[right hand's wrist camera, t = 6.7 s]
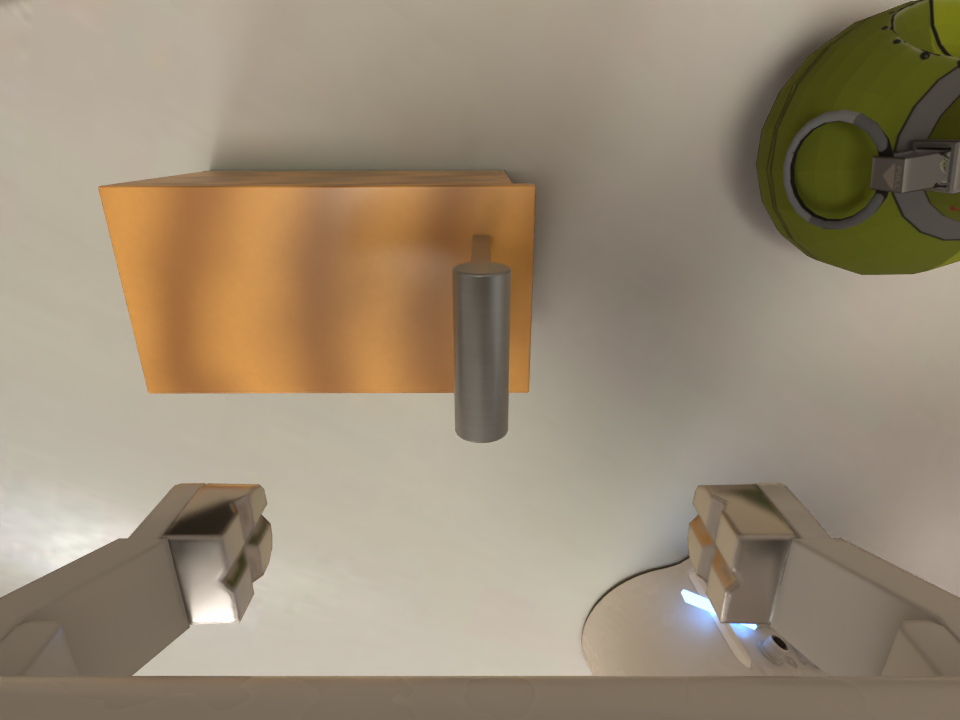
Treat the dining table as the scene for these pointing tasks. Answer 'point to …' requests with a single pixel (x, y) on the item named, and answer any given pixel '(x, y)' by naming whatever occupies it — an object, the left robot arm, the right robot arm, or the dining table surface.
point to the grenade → (871, 145)
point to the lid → (331, 289)
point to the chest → (335, 177)
